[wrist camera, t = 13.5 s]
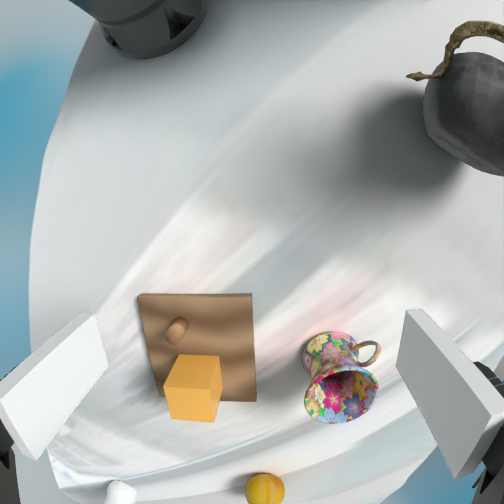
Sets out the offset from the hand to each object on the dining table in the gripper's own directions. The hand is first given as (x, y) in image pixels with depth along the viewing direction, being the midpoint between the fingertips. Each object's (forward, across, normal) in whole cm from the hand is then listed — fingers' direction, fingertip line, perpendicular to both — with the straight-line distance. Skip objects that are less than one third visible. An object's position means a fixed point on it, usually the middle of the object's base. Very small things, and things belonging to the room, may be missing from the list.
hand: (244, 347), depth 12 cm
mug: (+29, +10, -18) cm, 35 cm away
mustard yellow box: (+27, -10, -21) cm, 36 cm away
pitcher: (+29, +25, +15) cm, 41 cm away
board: (+29, -10, -18) cm, 35 cm away
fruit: (+29, -1, -52) cm, 59 cm away
